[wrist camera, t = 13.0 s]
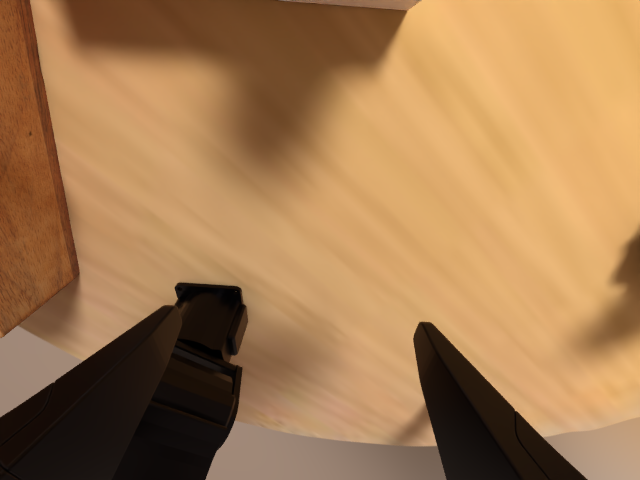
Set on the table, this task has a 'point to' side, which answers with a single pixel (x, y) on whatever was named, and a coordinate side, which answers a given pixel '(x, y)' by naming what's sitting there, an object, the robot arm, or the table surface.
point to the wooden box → (28, 179)
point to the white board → (367, 3)
